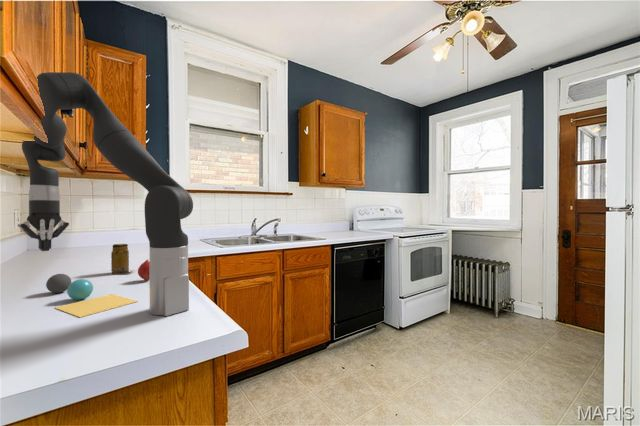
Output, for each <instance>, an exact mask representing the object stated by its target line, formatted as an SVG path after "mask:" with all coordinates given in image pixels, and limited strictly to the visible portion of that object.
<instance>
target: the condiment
mask: <svg viewBox="0 0 640 426" xmlns="http://www.w3.org/2000/svg"><path fill="white" fill-rule="evenodd" d="M128 246H129V245H128V244H127V243H117V244H116V243H115V244H112V249H111V254H110V256H111V257H110V258H111V262H110V263H111V265H110V267H111V270H110V271H111V272H110V273H107V274H106V275H110V276H111V275H126V274H127V275H129V274H132V273H135V272H138V270H136V271H135V270H130V261H129V260H130V253H129V247H128ZM129 271H130V272H129Z"/></svg>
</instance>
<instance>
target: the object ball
mask: <svg viewBox="0 0 640 426" xmlns="http://www.w3.org/2000/svg"><path fill="white" fill-rule="evenodd" d="M93 291H94V284H93V283H92V282H91V281H90V280H88V279H85V278H79V279H76V280H73V281H71V284H70V285H69V286H68V288H67V290H66V294H67V295H68V297H69V298H71V299H72V300H75V301H76V300H77V301H79V300H80V301H83V300H86V299H87V298H89V297H90V296H91V294H92V293H93Z"/></svg>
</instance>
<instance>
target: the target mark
mask: <svg viewBox="0 0 640 426" xmlns="http://www.w3.org/2000/svg"><path fill="white" fill-rule="evenodd" d="M138 302H139V301H138V300H135V299H132V298H128V297H123V296H121V295H117V294H106V295H101V296H98V297H93V298H90V299H83V300H80V301H77V302H72V303H68V304H63V305H60V306H55V307H54V309H56V310H58V311H61V312H65V313H66V314H70V315H72V316H75V317H77V318H84V317H87V316H92V315H95V314H98V313H102V312H106V311H108V310H110V311H111V310H113V309H116V308H121V307H123V306H127V305H130V304H131V303H132V304H135V303H138ZM132 304H131V305H132Z"/></svg>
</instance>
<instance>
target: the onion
mask: <svg viewBox="0 0 640 426" xmlns="http://www.w3.org/2000/svg"><path fill="white" fill-rule="evenodd" d="M137 274H138V276H139V277H140V279H143V280H144V281H146V282H148V281H150V262H149V259H146V260H145V261H144V262H143V263H141V264H140V266H139V267H138V270H137Z"/></svg>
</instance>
